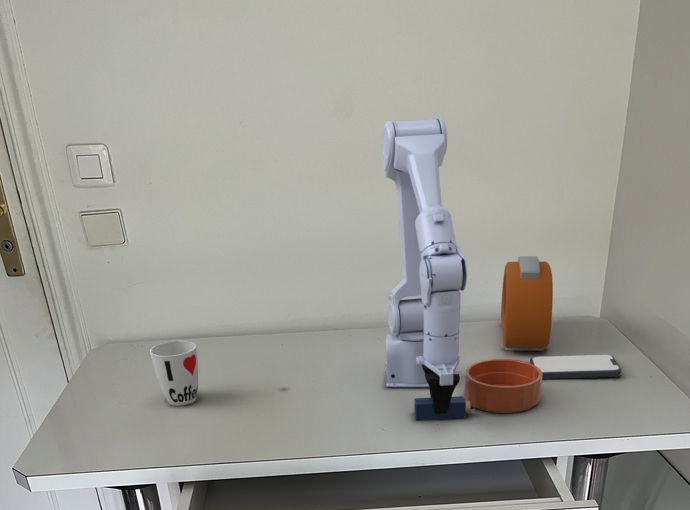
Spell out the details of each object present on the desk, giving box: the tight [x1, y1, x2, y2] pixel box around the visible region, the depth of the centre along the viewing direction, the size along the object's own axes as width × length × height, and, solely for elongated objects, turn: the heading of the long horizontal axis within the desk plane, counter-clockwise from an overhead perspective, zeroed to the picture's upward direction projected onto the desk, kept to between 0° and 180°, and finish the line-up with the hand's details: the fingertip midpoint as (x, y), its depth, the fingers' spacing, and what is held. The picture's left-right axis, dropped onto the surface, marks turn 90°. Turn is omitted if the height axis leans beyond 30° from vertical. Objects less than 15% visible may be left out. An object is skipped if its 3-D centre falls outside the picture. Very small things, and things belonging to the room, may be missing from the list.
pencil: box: [413, 395, 475, 421], centre depth 124 cm, size 10×3×3 cm, turn 92°
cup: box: [149, 340, 199, 407], centre depth 132 cm, size 8×8×10 cm
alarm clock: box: [500, 255, 554, 352], centre depth 152 cm, size 23×9×17 cm, turn 172°
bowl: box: [464, 358, 543, 414], centre depth 129 cm, size 13×13×5 cm
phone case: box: [529, 354, 622, 380], centre depth 139 cm, size 9×2×16 cm
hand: (439, 408), depth 124 cm, fingers closed on pencil, 2 cm apart
